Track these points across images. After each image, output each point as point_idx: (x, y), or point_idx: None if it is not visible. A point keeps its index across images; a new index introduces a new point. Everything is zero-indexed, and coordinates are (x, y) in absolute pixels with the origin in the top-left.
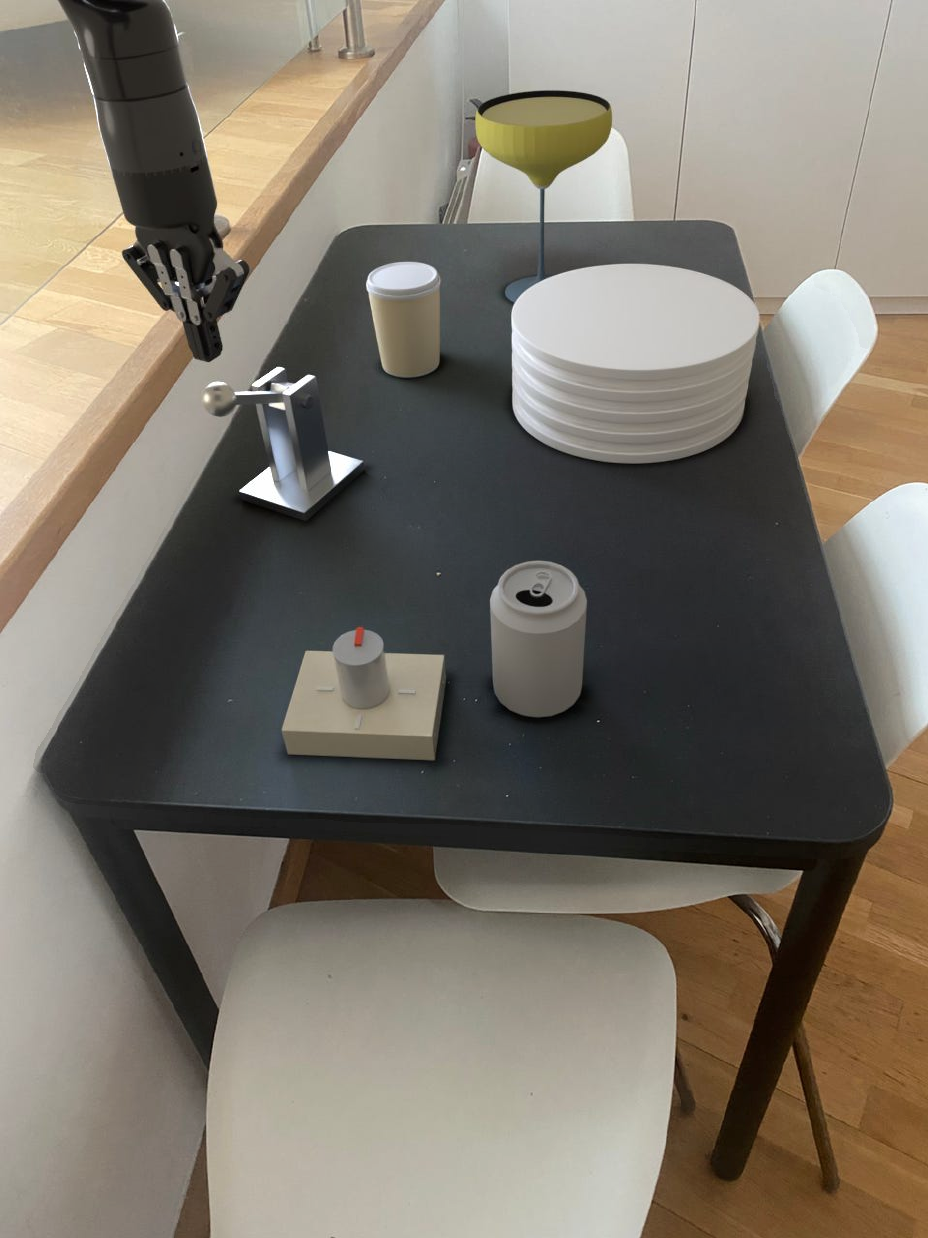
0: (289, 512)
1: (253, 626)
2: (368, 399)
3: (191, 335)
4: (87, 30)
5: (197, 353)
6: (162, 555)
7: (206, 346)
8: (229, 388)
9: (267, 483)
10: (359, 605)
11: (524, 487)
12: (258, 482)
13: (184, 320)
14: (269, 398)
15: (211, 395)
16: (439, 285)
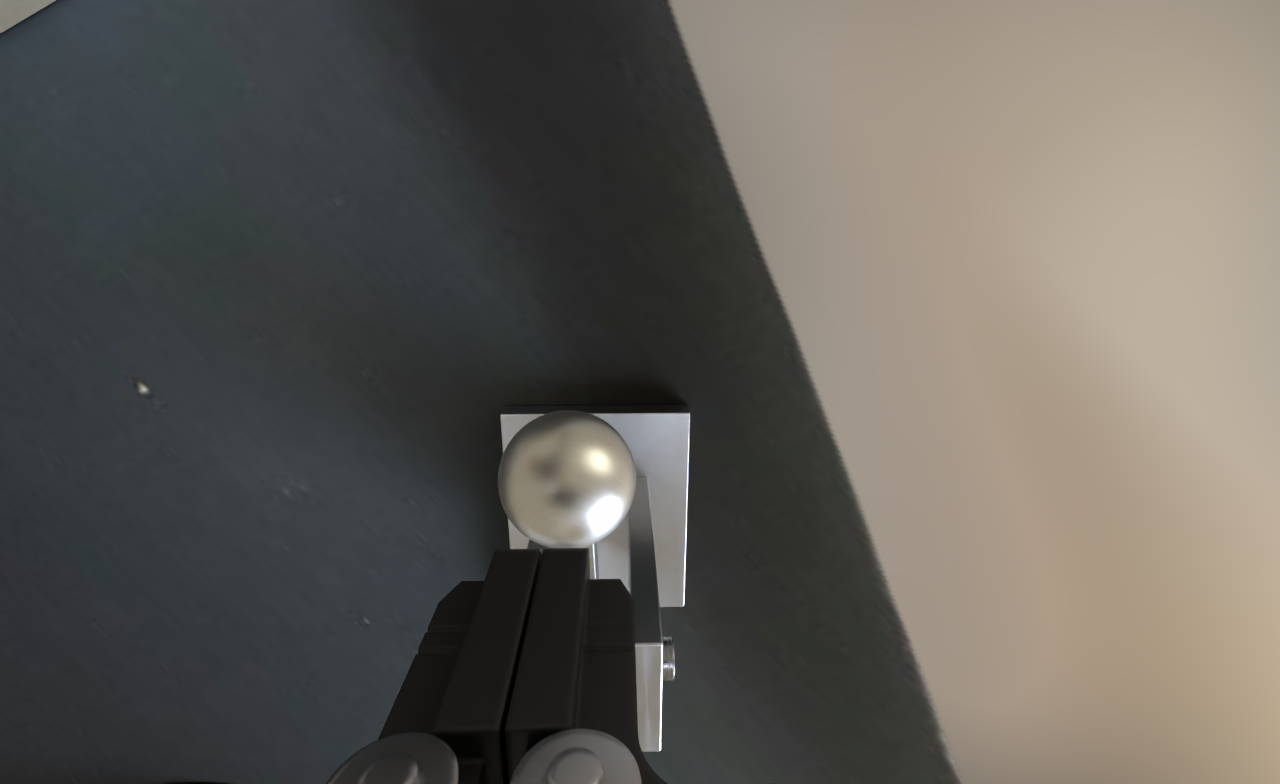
0: (545, 408)
1: (341, 49)
2: (673, 777)
3: (536, 648)
4: None
5: (541, 567)
6: (716, 157)
7: (468, 622)
8: (518, 526)
9: (648, 461)
10: (199, 227)
11: (205, 674)
12: (670, 456)
13: (544, 740)
14: None
15: (546, 452)
16: None
